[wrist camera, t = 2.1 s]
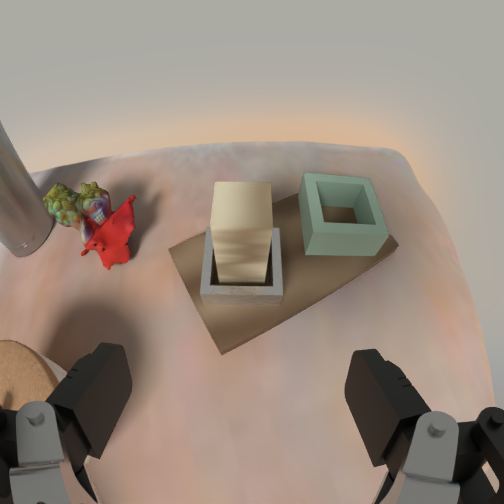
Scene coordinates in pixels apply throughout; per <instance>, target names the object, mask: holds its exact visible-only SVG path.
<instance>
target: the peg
mask: <svg viewBox="0 0 504 504" xmlns="http://www.w3.org/2000/svg"><path fill="white" fill-rule="evenodd" d="M210 228H211V235H212V241H213V248H214V254H215V260H216V266H217V272H218V278H219V284H220V286H264V282H265V276H266V269H267V263H268V257H269V250H270V243H271V237H272V230H273V216H272V198H271V183H265V182H215V188H214V196H213V205H212V213H211V222H210Z"/></svg>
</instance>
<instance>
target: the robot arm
mask: <svg viewBox="0 0 504 504" xmlns="http://www.w3.org/2000/svg"><path fill="white" fill-rule="evenodd" d="M43 198H44V197H43V196H42V194H41V192H40V191H39V189H38V188H37V186H36V185H35V183H34V181H33V180H32V178H31V176H30V175H29V173H28V172H27V170H26V168H25V166H24V165H23V163H22V161H21V160H20V158H19V156H18V154H17V152H16V151H15V149H14V147H13V145H12V143H11V141H10V139H9V138H8V136H7V134H6V132H5V130H4V128H3V126H2V124H1V122H0V241H1V242H2V243H3V244H4V245H5V246H6V247H7V248H8V249H9V250H10V251H11V252H12V253H13V254H14V255H15V256H17V257H23V256H27V255H29V254H31V253H32V252H34V251H35V250H36V249H37V248H38V247H40V246H41V244H42V243H43V242H44V241H45V239H46V238H47V236H48V235H49V233H50V231H51V228H52V225H53V221H54V216H51V215H50V214H49V210H48V209H46V208H45V204H44V201H43ZM71 369H72V370H70V371H69V372H68V373H67V374H66V377H64V378H63V379H62V381H61V382H60V383H59V384H58V385H57V387H56V388H55V389H54V390H53V392H52V393H51V394H50V395H49V397H48V398H47V399H46V400H45V402H44V401H31V402H28V403H26V404H24V405H23V406H22V407H21V408H20V409H19V410H18V411H16V410H9V409H3V408H2V406H1V405H0V504H102V502H101V500H100V498H99V496H98V493H97V491H96V488H95V486H94V483H93V481H92V478H91V475H90V473H89V470H88V467H87V465H86V463H85V459H86V457H87V455H89V456H92V457H95V458H98V459H100V458H101V455H102V453H103V451H104V449H105V447H106V444H107V442H108V440H109V438H110V436H111V434H112V432H113V429H114V427H115V425H116V423H117V421H118V419H119V417H120V415H121V413H122V411H123V409H124V407H125V405H126V403H127V401H128V399H129V397H130V394H131V390H132V379H131V375H130V371H129V367H128V363H127V359H126V354H125V350H124V348H123V346H122V345H117V344H110V343H101V344H100V345H99V346H98V347H97V348H96V350H95V351H94V352H93V353H92V354H88V355H86V356H84V357H83V358H81V359H79V360H78V361H77V362H76V364H75V365H74V366H73V367H72V368H71ZM345 398H346V402H347V404H348V406H349V409H350V411H351V413H352V416H353V418H354V420H355V423H356V425H357V427H358V430H359V432H360V435H361V437H362V439H363V442H364V444H365V447H366V449H367V452H368V454H369V457H370V459H371V462H372V464H373V466H374V467H377V466H381V465H384V464H386V465H387V467H388V471H387V472H386V474H385V476H384V478H383V481H382V483H381V485H380V487H379V490H378V492H377V494H376V496H375V498H374V500H373V502H372V504H504V410H502V409H500V408H497V407H488V408H485V409H484V410H482V411H481V413H480V414H479V416H478V418H477V419H476V421H470V422H460V423H457V422H456V421H455V419H454V418H453V417H451V416H450V415H448V414H446V413H444V412H439V411H431V410H430V408H429V407H428V405H427V404H426V403H425V401H424V400H423V399H422V397H421V396H420V394H419V393H418V392H417V390H416V389H415V388H414V386H412V384H411V382H410V381H409V380H408V378H407V379H406V376H405V374H404V373H403V372H402V370H401V369H400V368H399V367H398V366H396V365H395V364H393V363H392V362H390V361H389V360H388V361H385V360H384V359H383V358H382V356H381V355H380V353H379V352H378V351H377V350H376V349H367V350H357V351H354V353H353V355H352V359H351V363H350V367H349V371H348V375H347V379H346V383H345ZM487 461H488V463H489V465H490V466H491V468H492V470H493V471H494V473H495V475H496V476H497V478H498V480H499V489H498V491H497V493H495V491H494V489H493V487H492V486H491V483H490V482H489V480H488V478H487V476H486V475H485V473H484V471H483V469H482V468H481V467H482V466H483V465H484V464H485V463H486V462H487Z"/></svg>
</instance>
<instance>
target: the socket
mask: <svg viewBox="0 0 504 504" xmlns="http://www.w3.org/2000/svg"><path fill="white" fill-rule="evenodd" d="M298 201H299V208H300V216H301V224H302V232H303V240H304V249H305V255H334V256H375V255H376V254H377V252H378V251H379V249H380V248H381V247H382V245H383V244H384V242H385V241H386V239H387V238H388V237H389V232H388V229H387V226H386V223H385V220H384V217H383V214H382V211H381V208H380V205H379V202H378V199H377V196H376V193H375V191H374V188H373V185H372V183H371V180H370V178H361V177H351V176H341V175H329V174H316V173H303V177H302V182H301V186H300V191H299V195H298ZM321 206H333V207H349V208H353V209H354V213H355V216H356V220H357V224H350V223H328V222H324V220H323V214H322V209H321Z"/></svg>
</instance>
